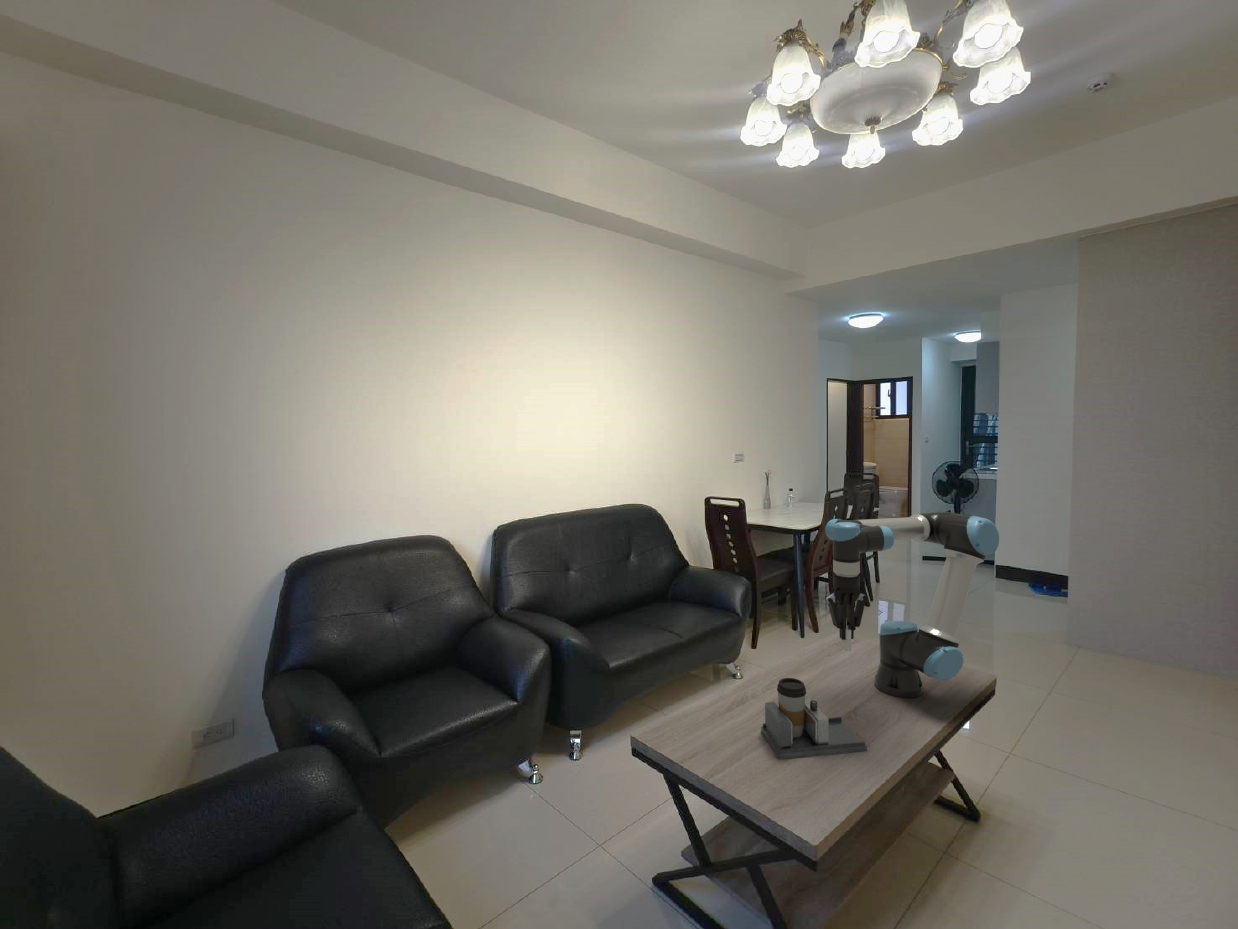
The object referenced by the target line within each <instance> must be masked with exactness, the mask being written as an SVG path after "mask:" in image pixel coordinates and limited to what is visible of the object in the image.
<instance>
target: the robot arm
mask: <svg viewBox="0 0 1238 929" xmlns="http://www.w3.org/2000/svg"><path fill="white" fill-rule="evenodd" d="M825 535H826V537H827V538H828V539H829V540H831V541H832V572H833V574H832V585H833V589H832V592H831V594H830V595H826V596H824V600H825V601H826V602H827V605H828V609H829V614H830V616H831V617H830V618H831V621H832V626H834V627H835V628H837V629H839V639H840V640H841V648H842V649H843V650H844V651H845V652H851V651H852V640H854V638H855V637H854V636H855V635H854V633H855V632H854V631H856V628H860V627H861V623H862V620H863V619H862V618H863V614H864V611H865V610H864V609H865V605H866V603H867V602H868V600H869V596H868V595H866V594H864V593H862V592H861V589H860V587H861V576H860V575H859V574H861V565H860V561H861V554H863V553H865V554H866V553H873V552H883V551H886V550H889V549H892V548H893V546H894V543H895V541H902V540H903V541H905V540H914V541H916V542H919V543H920V542H927V543H931V544H937V545H941V546H943V548H942V551H943V552H944V553H945V554H946V555H945V556H946V558H945V561H944V564H943V568H942V571H941V574H940V577H939V580H938V585H937V588H936V591H935V593H934V597H933V601H932V604H931V608H930V610H929V613H928V617H927V620H926V623H925V625H923V626H921V627H918V626H917V624H916V623H914V622H910V621H907V620H905V621H903V620H890V621H885V622H883V623H881V625H880V630H879V665H878V668H877V670H876V672H875V675H874V686H875V687H876V688H877V689H878V690H879V691H881V692H883V693H884V694H887V695H890V696H895V697H898V698H917V697H920V696H921V695H922V694H923V693H924V685H923V681H922V679H921V675H920V673H923V674H924V675H925V676H927V677H929V678H932V679H935V680H938V681H942V682H943V681H949V680H951V679H953V678H955V677H956V676H957V675H959V673H960V671H961V669H962V668H963V664H964V657H963V653H962V652H961V650H960V649H959V646H960V641H959V639H958V638H957V636H956V635H957V632H958V629H959V626H960V623H961V618H962V616H963V611H964V609H965V605H966V601H967V599H968V594H969V591H970V589H971V586H972V582H973V579H974V575H975V572H976V568H977V566H978V565H979V564H981V563H984V562H985V558H986V556H989V555H993V554H994V553H995V552H996V551H997V550H998V547H999V544H1000V534H999V530H998V529H997V526H996V524H995V523H994V522H993V521H991V520H990V519H988V518H985V517H981V516H977V515H970V514H962V513H955V512H950V511H939V512H938V511H937V512H926V513H915V514H911V515H910V516H907V517H890V518H887V517H886V518H872V519H855V520H854V519H852V520H851V519H850V520H845V519H841V518H833V519H831V520H829V521H828V522H827V523H826V525H825ZM836 601H837V605H838V610H837V605H836Z"/></svg>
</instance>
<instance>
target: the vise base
mask: <svg viewBox="0 0 1238 929" xmlns="http://www.w3.org/2000/svg"><path fill="white" fill-rule="evenodd" d="M764 711H765V712H764V717H765V718H764V720H765V721H764V722H765V723H762V726H760V732H761V733H762V735H763V737H764V738H765V739H766V741H767V743H768V744H769V745H770V748H771V749H772V750H773V752H774V753H775V755H776V756H777V758H778V760H782V759H783V760H784V759H795V758H802V757H803V758H804V757H815V756H817V757H818V756H826V755H836V754H847V753H857V752H859V753H860V752H867V751H868V745H867V744H866V741H864V740H862V739H861V738H860V737H859V736H858V735H857V734H856V733H855V732H854V730H852V728H851V727H850V726H849V725H848V724H847V723H846V722H845V721H844V719H843V718H842V716H836V717H835V716H833V717H827V718H828V719H829V744H827V745H817V744H816V743H815V742H814V741H813V739H812V738H811V737H810V736H809V734H808V733H807V732H806V731H805V729H804V728H803V733H802V735H801V736H800V737H792V723H791V721H790V720H789V719H788V718H787V716H786V715H785V714H784V712H783V711H782V710H780V708H779V704H777V703H776V702H775V701H772V702H770V701H768V702H765V703H764Z"/></svg>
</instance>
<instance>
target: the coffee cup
mask: <svg viewBox="0 0 1238 929" xmlns="http://www.w3.org/2000/svg"><path fill="white" fill-rule="evenodd" d="M776 687H777V688H776V691H777V697H778V706H779V708H780V710H782V711H783V712H784V714H785V715H786V716H787V718H788V719H789V720H790V721H791V723H792V737H800V736H801V735H802V733H803V725H804V714H805V698H806V694H807V691H806V690H807V688H806V686H805V683H804V682H803V681H802V680H800V679H799V678H794V677H784V678H781V679H780V680H779V681H778V683H777V686H776Z"/></svg>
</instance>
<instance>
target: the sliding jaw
mask: <svg viewBox="0 0 1238 929" xmlns="http://www.w3.org/2000/svg"><path fill="white" fill-rule="evenodd" d="M828 718H829V717H827V715H825V713H824V712H823V711H822V710H821V709H820V708H819V706H818V701H816V700H814V699H811V698H810V697H808V698H807V697H805V714H804V725H803V728H804V729H805V731H806V732H807V733H808V734H809V736H810V737H811V738H812V739H813V741H814V742H815V743H816V744H817V745H827V744H829V719H828Z"/></svg>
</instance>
